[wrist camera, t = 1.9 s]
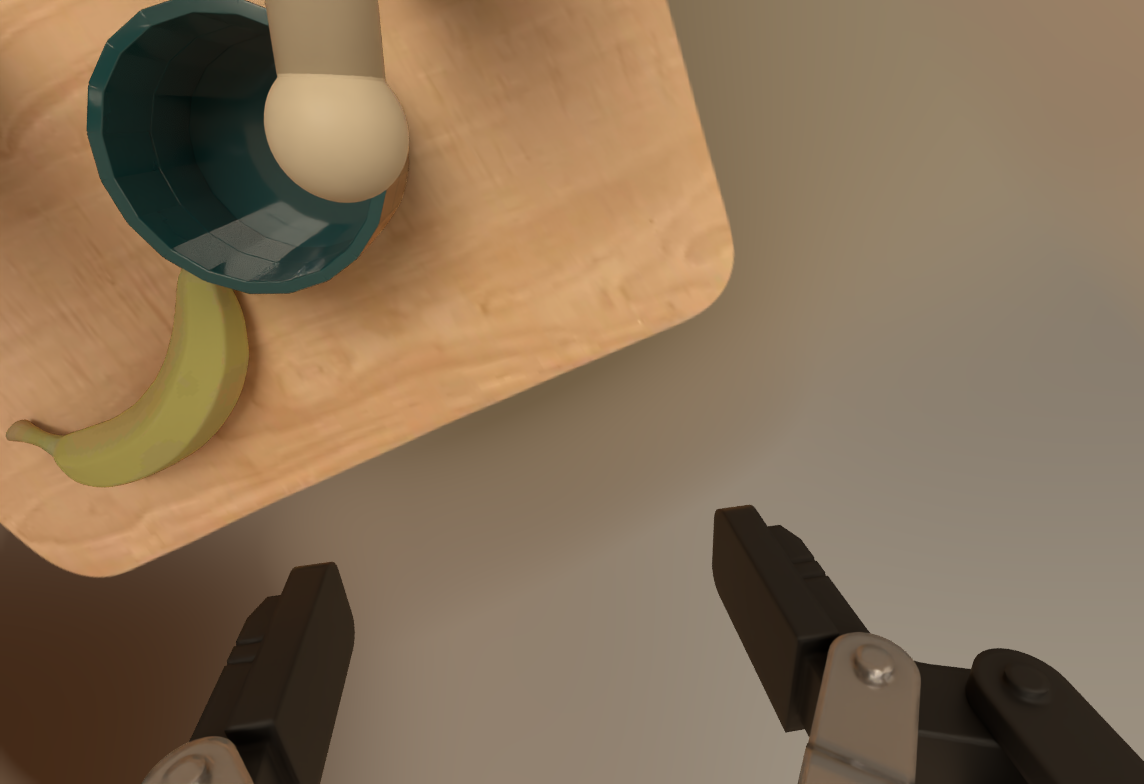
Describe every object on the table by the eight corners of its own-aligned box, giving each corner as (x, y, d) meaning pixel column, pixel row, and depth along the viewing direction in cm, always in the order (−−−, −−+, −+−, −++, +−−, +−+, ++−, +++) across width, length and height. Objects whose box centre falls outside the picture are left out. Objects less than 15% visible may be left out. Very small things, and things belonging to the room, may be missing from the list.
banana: (261, 452, 40) (9, 518, 42) (303, 429, 45) (77, 489, 48) (181, 251, 37) (-83, 334, 40) (235, 252, 43) (0, 325, 45)
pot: (210, 254, 41) (133, 294, 32) (156, 18, 35) (43, -13, 26) (417, 254, 43) (398, 293, 34) (398, 29, 37) (369, 3, 28)
